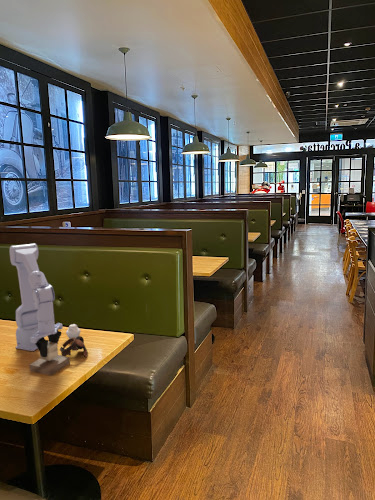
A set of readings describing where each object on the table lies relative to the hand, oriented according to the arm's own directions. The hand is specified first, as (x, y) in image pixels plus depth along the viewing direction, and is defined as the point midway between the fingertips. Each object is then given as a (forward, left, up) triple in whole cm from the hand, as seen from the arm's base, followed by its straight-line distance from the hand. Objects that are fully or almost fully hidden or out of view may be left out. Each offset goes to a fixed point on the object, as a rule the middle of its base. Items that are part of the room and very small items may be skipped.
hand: (49, 353), depth 140 cm
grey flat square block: (0, 0, -6) cm, 6 cm away
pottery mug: (+3, +12, -6) cm, 13 cm away
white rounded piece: (-8, +24, -6) cm, 26 cm away
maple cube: (0, 0, -1) cm, 1 cm away
